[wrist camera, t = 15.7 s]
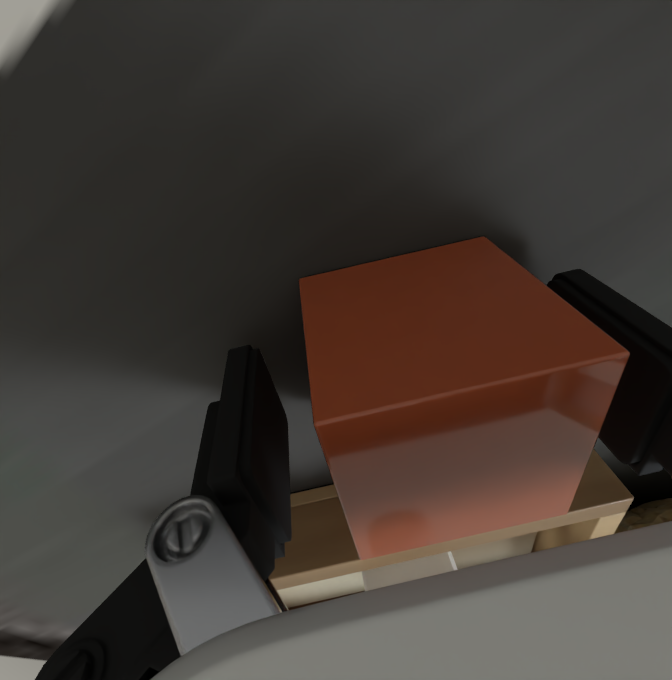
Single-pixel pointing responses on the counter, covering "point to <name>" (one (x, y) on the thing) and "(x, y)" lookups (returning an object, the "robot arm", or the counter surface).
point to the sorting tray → (346, 568)
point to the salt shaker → (408, 571)
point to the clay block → (452, 394)
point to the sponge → (646, 515)
